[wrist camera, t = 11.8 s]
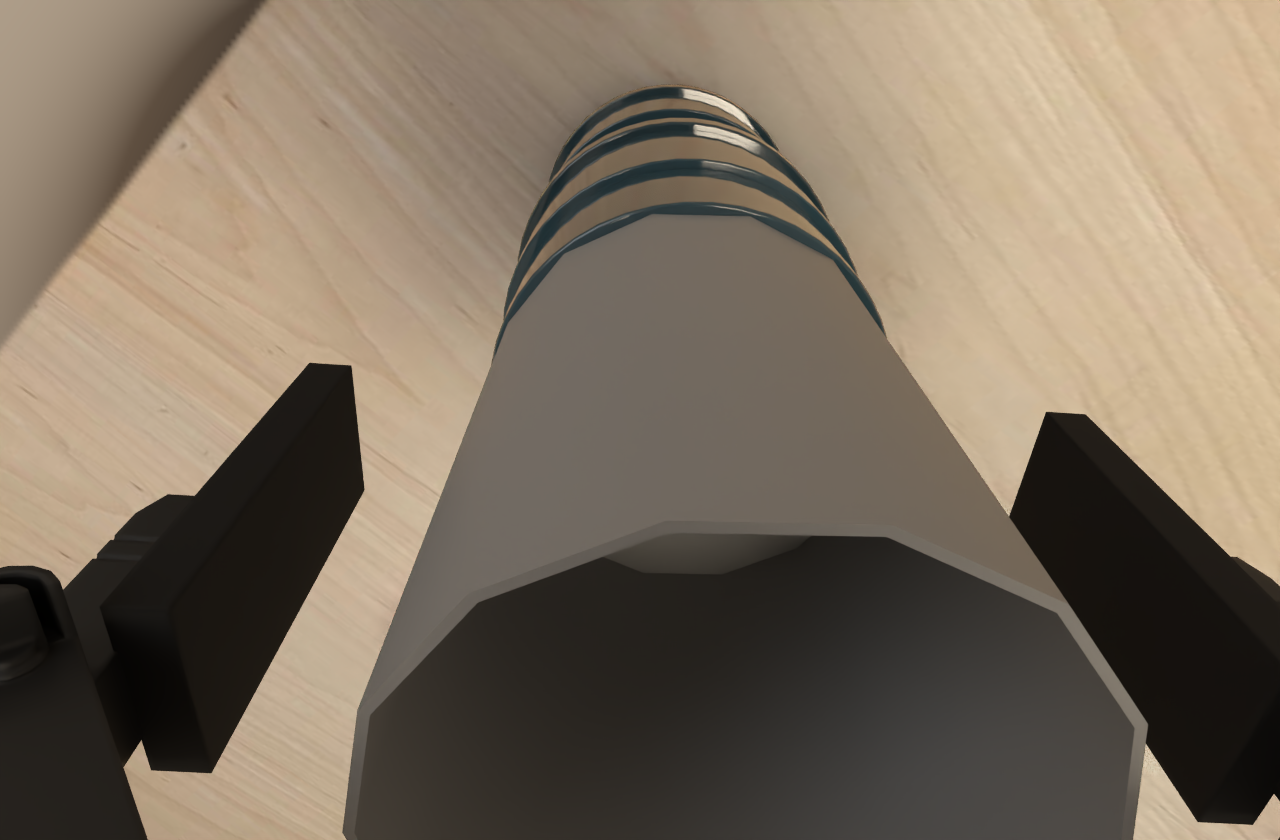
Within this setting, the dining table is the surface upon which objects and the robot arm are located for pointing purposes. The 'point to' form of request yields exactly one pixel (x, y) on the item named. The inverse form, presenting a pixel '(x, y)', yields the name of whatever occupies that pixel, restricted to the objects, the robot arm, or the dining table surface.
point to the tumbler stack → (669, 182)
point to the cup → (727, 586)
